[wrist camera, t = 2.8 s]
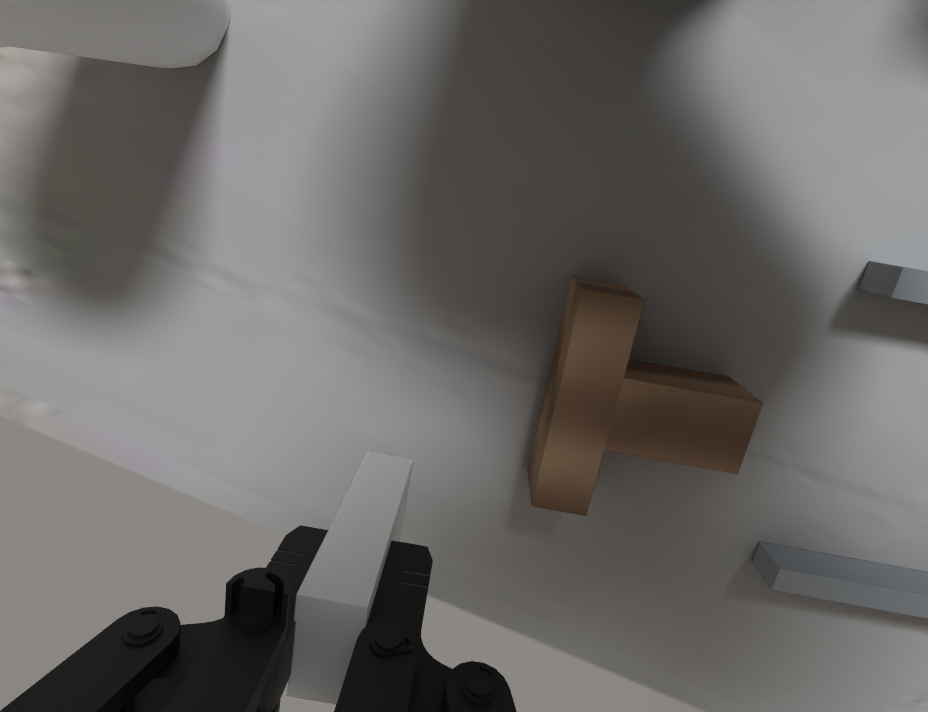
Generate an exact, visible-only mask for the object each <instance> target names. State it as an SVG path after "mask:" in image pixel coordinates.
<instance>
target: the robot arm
mask: <svg viewBox="0 0 928 712" xmlns="http://www.w3.org/2000/svg"><path fill="white" fill-rule="evenodd" d="M412 463H413V459H407V458H402V457H396V456H390V455H385V454H379V453H373V452H368V451H367V453H366V455H365V457H364V459H363V461H362V463H361V465H360V467H359V469H358V472H357V474H356V476H355V478H354V480H353V482H352V484H351V486H350V488H349V490H348V492H347V494H346V496H345V498H344V500H343V502H342V504H341V506H340V508H339V510H338V512H337V514H336V516H335V518H334V520H333V522H332V524H331V526H330V528H329V530H323V529H317V528H312V527H306V526H299V527H297V528H296V529H294V530H293V531H292V532H290V533H289V534H287V535H286V536H285V538H284V539H283V541H282V543H281V544H280V546H279V547H278V550H277V551H276V553H275V554H274V556H273V557H272V559H271V562H269V564H268V565H267V567H266V568H254V569H249V570H245V571H243V572H241V573H239V574H237V575H235V576H233V578H231V579H230V581H228V582H227V583H226V600H225V601H226V602H225V616H224V617H223V618H222V619H219V620H216V621H212V622H207V623H198V624H186V625H180V621H179V618H178V616H177V614H175V613H174V612H173V611H171V610H170V609H167V608H161V607H146V608H141V609H138V610H135V611H132V612H129V613H128V614H126V615H124V616H122V617H121V618H119V619H117V620H116V621H115V622H113V623H112V624H111V625H109V626H108V627H107V628H106V629H104V630H103V631H102V632H101V633H99V634H98V635H97V636H95V637H94V638H93V639H92V640H90V641H89V642H88V643H86V644H85V645H84V646H83V647H81V648H80V649H79V650H77V651H76V652H75V653H74V654H72V655H71V656H70V657H68V658H67V659H66V660H65V661H63V662H62V663H61V664H60V665H58V666H57V667H56V668H54V669H53V670H52V671H51V672H50V673H48V674H47V675H46V676H44V677H43V678H42V679H40V680H39V681H38V682H37V683H35V684H34V685H33V686H31V687H30V688H29V689H27V690H26V691H25V692H24V693H22V694H21V695H20V696H19V697H17V698H16V699H15V700H13V701H12V702H11V703H10V704H8V705H7V706H6V707H4V708H3V709H2V710H1V711H0V712H279V708H280V698H281V696H282V694H283V691H284V689H285V686H286V684H287V682H288V689H287V696H292V697H298V698H303V699H309V700H315V701H320V702H326V703H332V704H336V707H335V711H334V712H516V708H515V705H514V701H513V698H512V695H511V691H510V688H509V686H508V684H507V682H506V681H505V678H504V677H503V676H502V675H501V674H500V673H499V672H498V671H497V670H496V669H495V668H493V667H491V666H489V665H487V664H485V663H480V662H474V661H470V662H466V663H461V664H459V665H458V666H456V667H455V668H454V669H451V668H449V667H447V666H445V665H443V664H441V663H440V662H438V661H437V660H435V659H434V658H433V657H432V656H431V655H430V654H429V653H428V652H427V651H426V649H425V647H424V646H423V643H422V639H421V628H422V621H423V615H424V609H425V604H426V598H427V592H428V586H429V580H430V574H431V568H432V562H433V560H432V557H431V555H430V552H429V550H428V547H426V546H420V545H415V544H409V543H404V542H399V540H400V536H401V532H402V527H403V520H404V514H405V508H406V501H407V495H408V488H409V482H410V476H411V469H412Z"/></svg>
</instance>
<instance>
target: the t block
mask: <svg viewBox="0 0 928 712" xmlns="http://www.w3.org/2000/svg"><path fill="white" fill-rule="evenodd" d="M644 301H645V300H644V299H643V298H641V297H640V296H639V295H637V294H636V293H634V292H633V291H632V290H630V289H629V288H627V287H626V286H621V285H615V284H610V283H604V282H598V281H593V280H587V279H581V278H576V277H571V282H570V286H569V291H568V295H567V299H566V304H565V308H564V312H563V317H562V321H561V326H560V330H559V334H558V339H557V343H556V347H555V352H554V356H553V361H552V365H551V369H550V374H549V378H548V383H547V387H546V391H545V396H544V400H543V404H542V409H541V413H540V418H539V422H538V426H537V431H536V435H535V440H534V444H533V448H532V453H531V457H530V461H529V466H528V479H529V488H530V498H531V506H534V507H540V508H545V509H551V510H556V511H562V512H567V513H573V514H578V515H584V516H586V515H587V511H588V507H589V504H590V500H591V496H592V493H593V489H594V485H595V482H596V478H597V474H598V470H599V467H600V463H601V459H602V456H603V452H604V450H607V451H612V452H618V453H623V454H629V455H634V456H640V457H646V458H651V459H657V460H662V461H668V462H673V463H679V464H684V465H690V466H695V467H701V468H707V469H712V470H718V471H723V472H729V473H734V474H738V471H739V469H740V466H741V463H742V460H743V458H744V455H745V452H746V449H747V446H748V444H749V441H750V438H751V435H752V432H753V430H754V427H755V424H756V421H757V419H758V416H759V413H760V410H761V407H762V405H763V403H762V402H761V401H759V400H758V399H757V398H756V397H754V396H753V395H752V394H751V393H749V392H748V391H747V390H745V389H744V388H743V387H742V386H740V385H739V384H738V383H737V382H735V381H734V380H733V379H731V378H730V377H726V376H720V375H715V374H709V373H703V372H698V371H692V370H687V369H681V368H675V367H670V366H664V365H659V364H653V363H647V362H642V361H636V360H631V359H629V357H630V353H631V349H632V346H633V342H634V338H635V334H636V331H637V327H638V323H639V320H640V316H641V312H642V309H643V305H644Z"/></svg>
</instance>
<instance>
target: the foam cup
mask: <svg viewBox="0 0 928 712" xmlns="http://www.w3.org/2000/svg"><path fill="white" fill-rule="evenodd" d="M229 23H230V0H0V47H7V46H10V47H17V48H24V49H31V50H38V51H45V52H52V53H59V54H67V55H74V56H81V57H88V58H95V59H102V60H109V61H116V62H123V63H130V64H137V65H144V66H151V67H158V68H169V69H172V68H181V67H190V66H197V65H198V64H199V63H201V62H202V61H203V60H204V59H206V58H207V57H208V56H210V55H211V54H212V53H214V52H215V51H216V50H218V47H219V45H220V43H221V41H222V39H223V36H224V34H225V32H226V30H227V28H228V26H229Z"/></svg>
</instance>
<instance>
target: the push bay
mask: <svg viewBox="0 0 928 712" xmlns="http://www.w3.org/2000/svg"><path fill="white" fill-rule="evenodd" d="M858 289H859V290H863V291H867V292H871V293H874V294H878V295H882V296H886V297H890V298H895V299H900V300H906V301H912V302H917V303H923V304H928V272H927V271H922V270H916V269H910V268H905V267H899V266H893V265H888V264H882V263H876V262H871V261H869V263H868V265H867V268H866V270H865V273H864V276H863V278H862V281H861V283H860V286H859V288H858ZM752 563H753V564H754V566H755V567H756V569H757V570H758V571H759V573H760V574H761V576H762V577H763V579H764V580H765V582H766V583H767V584H768V586H769V587H770V589H771V590H774V591H779V592H785V593H790V594H796V595H801V596H807V597H812V598H818V599H823V600H829V601H834V602H840V603H845V604H851V605H856V606H862V607H867V608H873V609H878V610H884V611H889V612H895V613H900V614H906V615H911V616H917V617H922V618H928V572H923V571H917V570H912V569H906V568H901V567H895V566H890V565H884V564H879V563H873V562H868V561H862V560H857V559H851V558H845V557H840V556H834V555H829V554H823V553H818V552H812V551H807V550H801V549H796V548H790V547H785V546H779V545H774V544H768V543H763V542H760V543H759V545H758V548H757V551H756V553H755V556H754V558H753V561H752Z"/></svg>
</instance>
